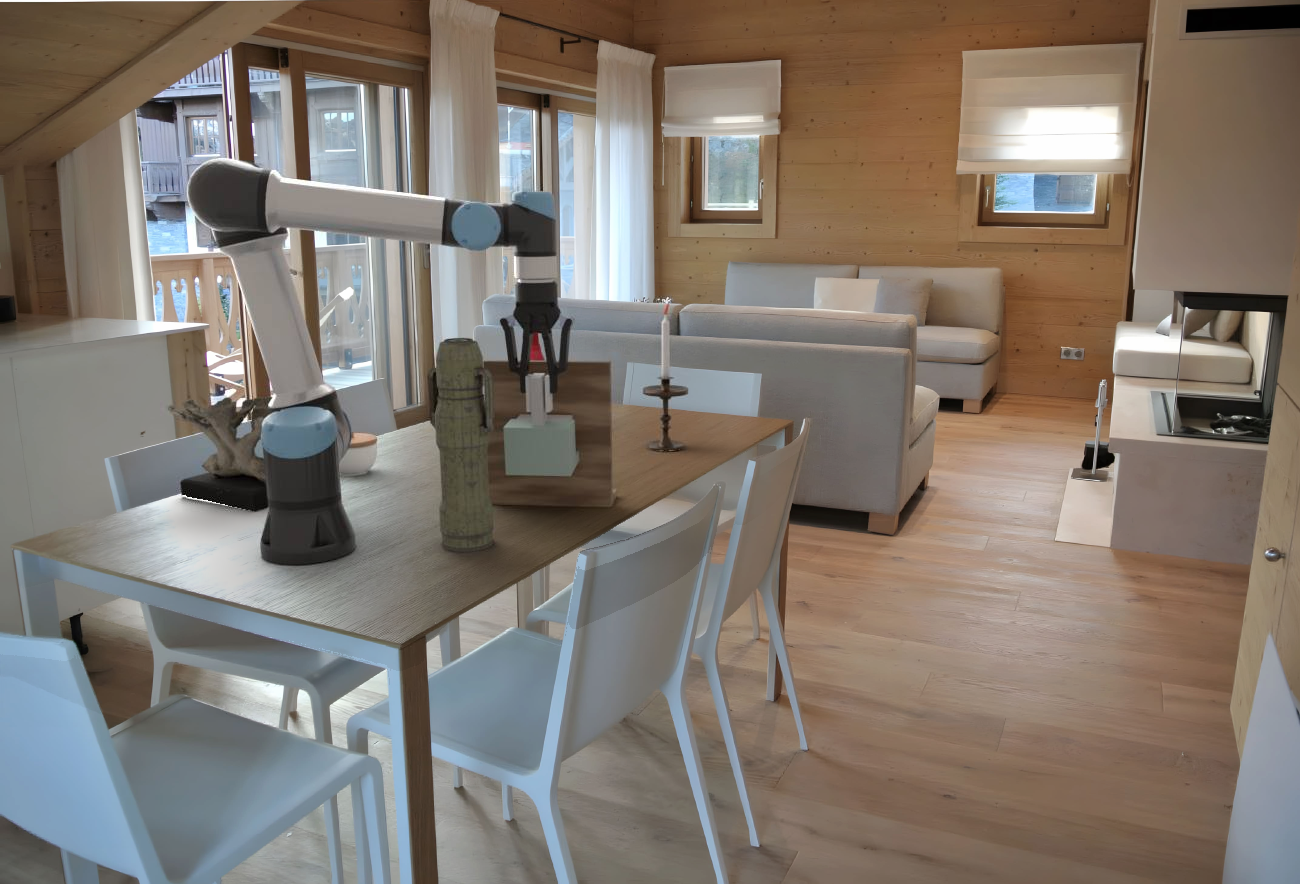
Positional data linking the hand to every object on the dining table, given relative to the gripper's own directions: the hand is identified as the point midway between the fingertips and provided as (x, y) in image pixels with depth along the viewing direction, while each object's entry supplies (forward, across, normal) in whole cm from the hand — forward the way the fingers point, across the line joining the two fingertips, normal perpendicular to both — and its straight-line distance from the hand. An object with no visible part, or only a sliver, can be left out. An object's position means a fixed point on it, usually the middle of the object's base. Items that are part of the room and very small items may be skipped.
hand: (539, 410), depth 184 cm
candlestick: (+20, -18, -59) cm, 65 cm away
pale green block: (+11, 0, -2) cm, 11 cm away
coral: (+20, +62, -5) cm, 65 cm away
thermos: (+20, +10, +17) cm, 28 cm away
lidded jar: (+20, +48, -29) cm, 60 cm away
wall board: (+20, 0, -9) cm, 22 cm away
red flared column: (+20, +19, -83) cm, 87 cm away
